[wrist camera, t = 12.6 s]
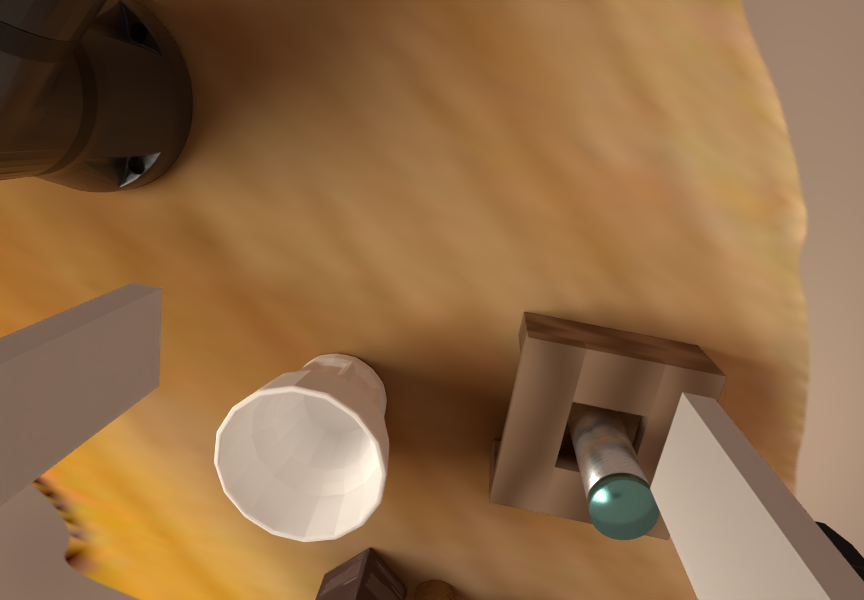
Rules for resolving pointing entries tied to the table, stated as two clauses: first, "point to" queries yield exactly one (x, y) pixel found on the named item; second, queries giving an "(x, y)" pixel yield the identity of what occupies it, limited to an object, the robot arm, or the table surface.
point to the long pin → (611, 473)
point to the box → (361, 581)
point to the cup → (308, 450)
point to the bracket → (592, 385)
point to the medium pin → (435, 591)
